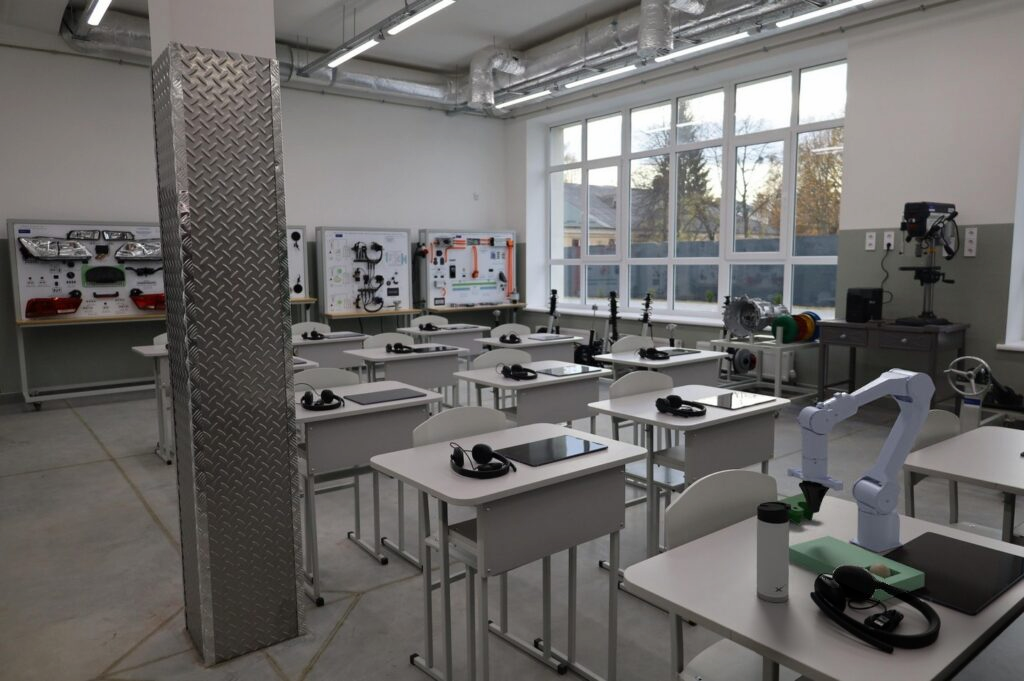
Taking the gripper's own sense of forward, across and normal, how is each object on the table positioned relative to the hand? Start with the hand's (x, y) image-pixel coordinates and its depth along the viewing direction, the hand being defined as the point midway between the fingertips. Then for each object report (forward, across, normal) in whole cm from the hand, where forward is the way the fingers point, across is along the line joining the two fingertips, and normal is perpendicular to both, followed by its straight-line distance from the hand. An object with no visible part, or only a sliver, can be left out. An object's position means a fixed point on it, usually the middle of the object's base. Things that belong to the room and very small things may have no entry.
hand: (813, 511), depth 164 cm
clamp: (+10, -16, +13) cm, 23 cm away
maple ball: (+7, +19, -2) cm, 21 cm away
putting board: (+9, +13, -3) cm, 16 cm away
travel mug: (+10, +13, -27) cm, 31 cm away
